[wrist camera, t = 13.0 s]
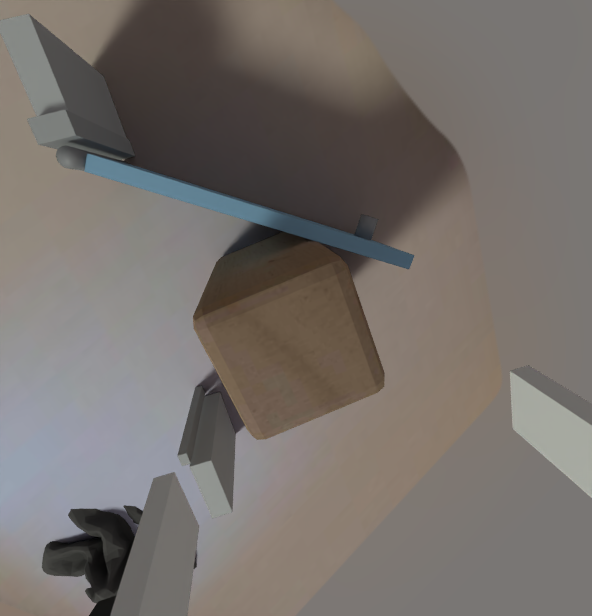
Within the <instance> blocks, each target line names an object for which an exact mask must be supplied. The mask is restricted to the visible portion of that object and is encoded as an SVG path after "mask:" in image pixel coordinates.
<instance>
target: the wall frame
mask: <svg viewBox="0 0 592 616" xmlns="http://www.w3.org/2000/svg"><path fill="white" fill-rule="evenodd" d="M0 33H1V36H2V38H3V40H4V42H5V45H6V47H7V49H8V52H9V54H10V56H11V58H12V61H13V63H14V65H15V68H16V70H17V72H18V75H19V77H20V79H21V81H22V84H23V86H24V88H25V91H26V93H27V95H28V97H29V100H30V102H31V104H32V107H33V109H34V111H35V113H36V116H37V117H33V118H29V119H27V120H28V123H29V125H30V127H31V129H32V132H33V134H34V136H35V138H36V140H37V143H38V145H42V146H46V147H50V148H54V149H59V148H60V147H62V146H70V147H74V148H78V149H81V150H85V151H88V152H92V153H96V154H99V155H103V156H107V157H110V158H114V159H118V160H122V159H126V158H130V157H134V156H135V154H134V151H133V148H132V146H131V143H130V140H129V139H127V138H126V135H125V133H124V130H123V127H122V125H121V122H120V119H119V116H118V114H117V111H116V108H115V106H114V103H113V100H112V97H111V95H110V92H109V89H108V87H107V84H106V81H105V78H104V76H103V75H102V74H100V73H99V72H98V71H97V70H96V69H94V68H93V67H92V66H91V65H90V64H88V63H87V62H86V61H85V60H84V59H82V58H81V57H80V56H79V55H78V54H76V53H75V52H74V51H73V50H72V49H70V48H69V47H68V46H67V45H66V44H64V43H63V42H62V41H61V40H60V39H58V38H57V37H56V36H55V35H54V34H52V33H51V32H50V31H49V30H48V29H46V28H45V27H44V26H43V25H42V24H40V23H39V22H38V21H37V20H36V19H34V18H33V17H32V16H31V15H30V14H26V15H21V16H17V17H13V18H8V19H4V20H0ZM235 437H236V434H235V431H234V428H233V426H232V423H231V420H230V418H229V415H228V412H227V409H226V407H225V404H224V401H223V399H222V396H221V393H220V392H218V393H214V394H211V395H208V396H205V393H204V390H203V388H202V386H199V387H196V388H195V391H194V395H193V398H192V402H191V406H190V410H189V414H188V418H187V421H186V425H185V429H184V433H183V437H182V441H181V444H180V448H179V452H178V458H179V460H180V462H181V465H182V466H184V465H188V464H190V469H191V471H192V473H193V475H194V478H195V480H196V482H197V485H198V487H199V489H200V492H201V494H202V496H203V498H204V501H205V503H206V505H207V508H208V510H209V512H210V514H211V517H212V518H216V517H219V516H222V515H225V514H229V513H232V509H233V485H234V461H235Z"/></svg>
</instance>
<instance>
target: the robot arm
mask: <svg viewBox="0 0 592 616" xmlns="http://www.w3.org/2000/svg"><path fill="white" fill-rule="evenodd" d="M510 382H511V402H512V422H513V429H514V430H515V431H516V432H517V433H518V434H520V435H521V436H522V437H523V438H524V439H525V440H526V441H528V442H529V443H530V444H531V445H532V446H533V447H534V448H535V449H537V450H538V451H539V452H540V453H541V454H542V455H544V456H545V457H546V458H547V459H548V460H549V461H550V462H551V463H553V464H554V465H555V466H556V467H557V468H558V469H560V470H561V471H562V472H563V473H564V474H565V475H567V477H569V478H570V479H571V480H572V481H573V482H574V483H575V484H577V485H578V486H579V487H580V488H581V489H582V490H583V491H585V492H586V493H587V494H588V495H589V496H590V497H591V498H592V404H591V403H590V402H588V401H587V400H585V399H583V398H581V397H580V396H578V395H577V394H575V393H573V392H572V391H570V390H569V389H567V388H565V387H563V386H562V385H560V384H558V383H557V382H555V381H554V380H552V379H550V378H549V377H547V376H545V375H544V374H542V373H540V372H539V371H537V370H535V369H534V368H532V367H530V366H529V365H528V366H524V367H521V368H518V369H514V370H511V371H510ZM198 532H199V525H198V522H197V520H196V518H195V516H194V514H193V512H192V509H191V507H190V505H189V503H188V501H187V499H186V496H185V494H184V492H183V490H182V488H181V486H180V483H179V481H178V479H177V477H176V475H175V472H173V473H170V474H166V475H163V476H160V477H156V478H154V479H153V482H152V485H151V488H150V491H149V495H148V498H147V501H146V504H145V507H144V510H143V514H142V517H141V520H140V523H139V526H138V529H137V532H136V536H135V539H134V542H133V545H132V548H131V551H130V555H129V558H128V561H127V564H126V567H125V570H124V574H123V577H122V580H121V583H120V586H119V589H118V592H117V596H113V597H110V598H107V599H104V600H101V601H98V603H97V604H96V606H95V607H94V609H93V610H92V612H91V613H90V615H89V616H187V614H188V606H189V599H190V591H191V584H192V576H193V569H194V562H195V554H196V547H197V539H198Z"/></svg>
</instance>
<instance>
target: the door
mask: <svg viewBox="0 0 592 616" xmlns="http://www.w3.org/2000/svg"><path fill="white" fill-rule="evenodd" d="M56 157H57V160H58V162H59V163H60V164H61V165H62V166H63V167H65V168H68V169H75V170H82V171H85V172H88V173H91V174H95V175H98V176H101V177H105V178H108V179H111V180H115V181H118V182H121V183H125V184H128V185H131V186H134V187H138V188H141V189H144V190H148V191H151V192H154V193H158V194H161V195H164V196H168V197H171V198H174V199H178V200H181V201H184V202H187V203H191V204H194V205H197V206H201V207H204V208H207V209H211V210H214V211H217V212H221V213H224V214H227V215H231V216H234V217H237V218H240V219H244V220H247V221H250V222H254V223H257V224H260V225H264V226H267V227H270V228H274V229H277V230H280V231H284V232H287V233H290V234H294V235H297V236H300V237H303V238H307V239H310V240H313V241H317V242H320V243H323V244H327V245H330V246H333V247H337V248H340V249H343V250H347V251H350V252H353V253H356V254H360V255H363V256H366V257H370V258H373V259H376V260H380V261H383V262H386V263H390V264H393V265H396V266H400V267H403V268H406V269H409V268H410V266H411V263H412V260H413V258H414V255H412V254H409V253H406V252H403V251H401V250H398V249H395V248H392V247H390V246H387V245H384V244H381V243H378V242H376V241H373V240H371V238H372V236H373V233H374V230H375V227H376V224H377V222H378V219H376V218H373V217H370V216H366V215H363V214H361V217H360V220H359V223H358V226H357V229H356V232H355V235H354V234H351V233H348V232H345V231H342V230H338V229H335V228H332V227H329V226H326V225H322V224H319V223H316V222H313V221H310V220H307V219H303V218H300V217H297V216H294V215H291V214H287V213H284V212H281V211H278V210H275V209H271V208H268V207H265V206H262V205H259V204H256V203H252V202H249V201H246V200H243V199H240V198H236V197H233V196H230V195H227V194H224V193H220V192H217V191H214V190H211V189H208V188H204V187H201V186H198V185H195V184H192V183H189V182H185V181H182V180H179V179H176V178H173V177H169V176H166V175H163V174H160V173H157V172H153V171H150V170H147V169H144V168H141V167H138V166H134V165H131V164H130V163H128V162H125V161H121V160H118V159H114V158H110V157H107V156H103V155H99V154H96V153H92V152H88V151H85V150H81V149H78V148H74V147H70V146H62V147H60V148H59V149H58V150H57V153H56Z"/></svg>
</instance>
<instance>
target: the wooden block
mask: <svg viewBox="0 0 592 616" xmlns="http://www.w3.org/2000/svg"><path fill="white" fill-rule="evenodd" d="M193 323H194V330H195V332H196V333H197V335H198V337H199V339H200V341H201V343H202V345H203V347H204V349H205V351H206V352H207V354H208V356H209V358H210V360H211V362H212V364H213V366H214V368H215V369H216V371H217V373H218V375H219V377H220V379H221V381H222V383H223V385H224V386H225V388H226V390H227V392H228V394H229V396H230V398H231V400H232V402H233V403H234V405H235V407H236V409H237V411H238V413H239V415H240V417H241V419H242V421H243V422H244V424H245V426H246V428H247V430H248V431H249V432H250V434H251V435H252V436H253V437H254V438H256V439H257V440H260V439H267V438H270V437H272V436H275V435H277V434H279V433H282V432H284V431H287V430H289V429H291V428H294V427H296V426H299V425H301V424H303V423H306V422H308V421H311V420H313V419H315V418H318V417H320V416H323V415H325V414H327V413H330V412H332V411H335V410H337V409H339V408H342V407H344V406H347V405H349V404H351V403H354V402H356V401H359V400H361V399H363V398H366V397H368V396H371V395H373V394H375V393H378V392H379V391H380V390H381V389H382V388H383V387H384V370H383V367H382V364H381V362H380V359H379V356H378V353H377V350H376V347H375V344H374V341H373V338H372V335H371V332H370V329H369V326H368V323H367V320H366V318H365V315H364V312H363V309H362V306H361V303H360V300H359V297H358V294H357V291H356V288H355V285H354V282H353V279H352V276H351V274H350V271H349V268H348V265H347V264H346V263H345V262H344V261H343V259H342V258H341V257H340V256H339V255H337V254H335V253H334V252H332V251H331V250H329V249H328V248H326V247H325V246H323V245H322V244H320V243H319V242H317V241H313V240H310V239H307V238H303V237H300V236H297V235H294V234H290V233H287V232H282V233H279V234H277V235H274V236H272V237H269V238H267V239H265V240H262V241H260V242H257V243H255V244H252V245H250V246H248V247H245V248H243V249H240V250H238V251H235V252H233V253H231V254H228V255H226V256H223V257H221V258H220V259H219V260H218V261H217V262H216V265H215V267H214V269H213V272H212V274H211V276H210V278H209V281H208V283H207V285H206V288H205V290H204V292H203V295H202V297H201V299H200V302H199V304H198V306H197V309H196V311H195V313H194V315H193Z"/></svg>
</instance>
